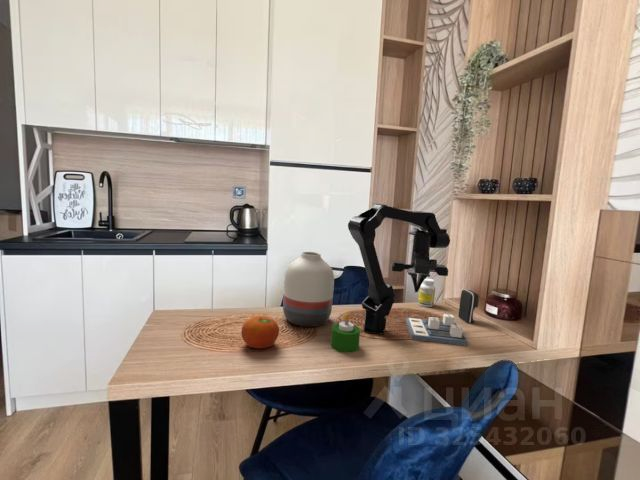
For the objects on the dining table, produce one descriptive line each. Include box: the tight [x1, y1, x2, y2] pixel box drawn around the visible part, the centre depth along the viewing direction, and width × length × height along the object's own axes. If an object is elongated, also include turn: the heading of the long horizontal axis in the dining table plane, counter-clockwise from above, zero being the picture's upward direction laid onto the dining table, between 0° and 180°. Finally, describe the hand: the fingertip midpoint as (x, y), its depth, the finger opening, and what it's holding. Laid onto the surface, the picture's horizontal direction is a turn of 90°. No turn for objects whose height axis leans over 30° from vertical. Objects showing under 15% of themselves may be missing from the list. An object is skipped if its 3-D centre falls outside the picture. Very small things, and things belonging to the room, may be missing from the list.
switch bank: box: [405, 317, 468, 346], centre depth 120 cm, size 17×16×2 cm
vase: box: [282, 251, 335, 328], centre depth 121 cm, size 17×17×24 cm
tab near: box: [450, 324, 464, 338], centre depth 114 cm, size 3×3×3 cm
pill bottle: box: [417, 277, 436, 308], centre depth 149 cm, size 6×6×11 cm
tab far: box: [442, 313, 455, 326], centre depth 124 cm, size 3×3×3 cm
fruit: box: [241, 315, 280, 349], centre depth 101 cm, size 11×10×8 cm
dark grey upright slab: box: [458, 289, 480, 324], centre depth 134 cm, size 7×4×11 cm, turn 10°
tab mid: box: [427, 316, 441, 330], centre depth 119 cm, size 3×3×3 cm
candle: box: [330, 313, 361, 354], centre depth 104 cm, size 8×8×10 cm
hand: (416, 292), depth 124 cm, fingers closed
